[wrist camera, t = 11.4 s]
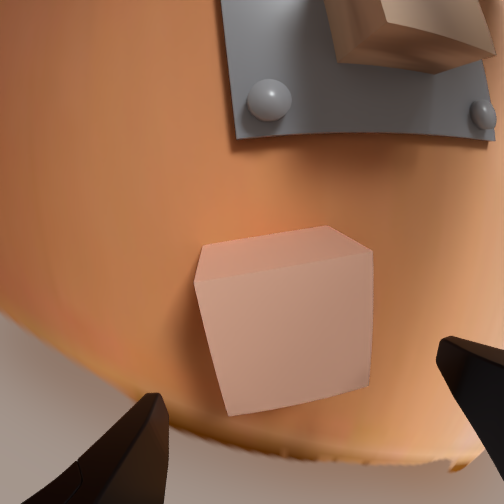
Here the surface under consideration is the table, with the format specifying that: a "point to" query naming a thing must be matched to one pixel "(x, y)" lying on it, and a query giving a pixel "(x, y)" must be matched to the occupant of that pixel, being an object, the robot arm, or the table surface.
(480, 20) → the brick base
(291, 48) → the baseplate
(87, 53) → the table surface
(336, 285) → the pink cube
